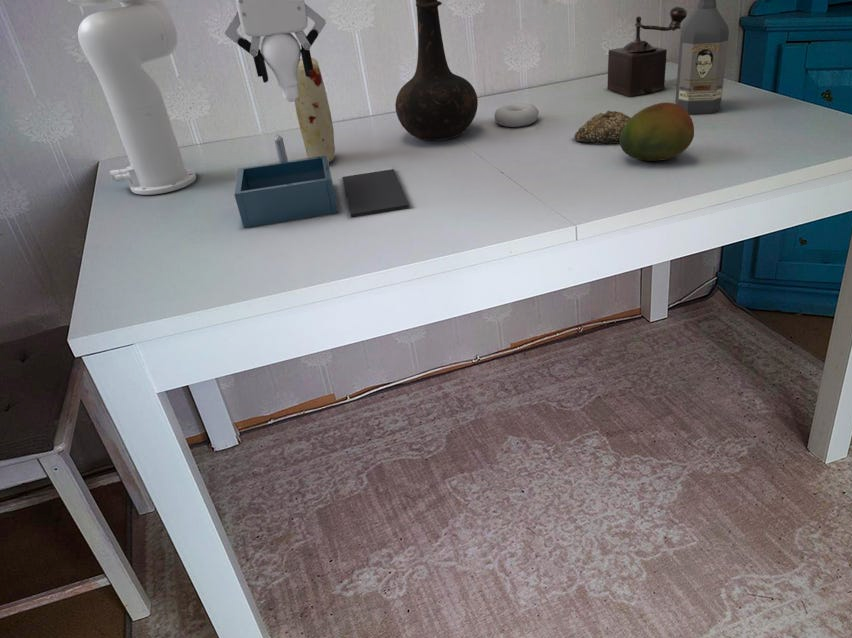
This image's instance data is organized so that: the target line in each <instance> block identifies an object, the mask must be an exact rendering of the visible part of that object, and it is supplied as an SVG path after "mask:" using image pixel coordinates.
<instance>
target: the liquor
mask: <svg viewBox="0 0 852 638" xmlns="http://www.w3.org/2000/svg"><path fill="white" fill-rule="evenodd" d="M729 37H730V30H729V25H728V24H727V22H726V21H725V19H724V18H723V16H722V14H721V13H720V12H719V10H718V9H717V0H698V2H697V7H696V9H695V10H693V12H692V13H691V14H690V16H689V17H688V18H687V19H686V20H685V21H684V22H683V24H682V26H681V29H680V36H679V48H678V49H679V50H678V62H677V73H676V74H677V75H676V86H675V87H676V88H675V99H674V100H675V101H674V104H677V105H679V106H681V107H683V108H684V109H685V110H686V111H687V112H688V114H689V115H707V114H708V115H709V114H713V113H716V112H719V110H720V109H721V106H722V97H723V89H724V81H725V80H724V79H725V71H726V62H727V53H728V44H729Z"/></svg>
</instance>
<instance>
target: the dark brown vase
mask: <svg viewBox="0 0 852 638" xmlns="http://www.w3.org/2000/svg"><path fill="white" fill-rule="evenodd" d="M441 5H443V2H442V1H439V0H415V7H416V16H417V17H416V18H417V19H416V20H417V60H416V61H417V62H416V67H415V72H414V75H413V77H412V78H410V79H409V80H408V81H407V82H406V83H405V84H404V85H402V87H401V88H400V89H399V91H398V93H397V95H396V99H395V105H394V106H395V113H396V117H397V120H398V121H399V123H400V124H401V126H402V128H403V129H404V130H405V131H406V132H407V133H408V134H409V135H411V136H413V137H415V138H417V139H419V140H424V141H442V140H447V139H452V138H456V137H458V136H460V135H462V134H463V133H464V132H465V131H467V129H468V128H469V127H470V125H471V124H472V123H473V121H474V120H475V117H476V114H477V111H478V104H479V101H478V95H477V92H476V89H475V87H474V86H473V85H472V84H471V83H470V82H469V80H467V79H466V78H464V77H462V76H460V75H457V74H455V73H453V72H452V71H451V69H450V66H449V65H448V61H447V58H446V53H445V52H446V51H445V48H444V42H443V35H442V34H443V33H442V27H441V21H440V14H439V6H441Z"/></svg>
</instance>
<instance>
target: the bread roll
mask: <svg viewBox="0 0 852 638" xmlns="http://www.w3.org/2000/svg"><path fill="white" fill-rule="evenodd" d="M631 118H632V117H630V116H629V115H627V114H625V113H624V112H620V111H615V110H607V111H606V112H604V113H602V112H600V113H599V114H595V115H594V116H593V117H591V118H589V119H588V120H587V121H586V122H585V123H584V124H583V125H582V126H580V127H579V128H578V130H577V131H575V133H574V139H575V141H577V142H581V143H589V144H620V134H621V132H622V130H623V128H624V126H625V125H626V123H627V122H628V121H629V120H630V119H631Z"/></svg>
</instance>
